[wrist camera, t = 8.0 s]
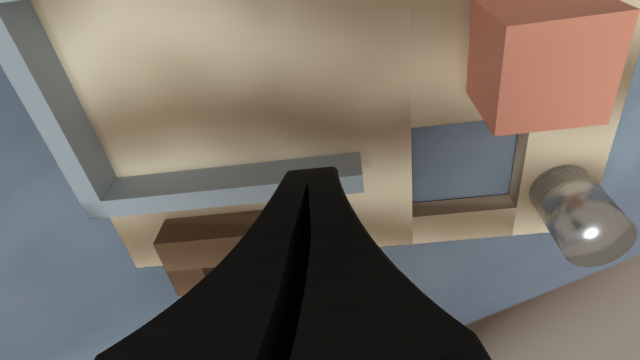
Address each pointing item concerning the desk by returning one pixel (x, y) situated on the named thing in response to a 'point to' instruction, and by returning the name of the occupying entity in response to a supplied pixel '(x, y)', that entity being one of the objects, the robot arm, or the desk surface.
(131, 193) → the grey rectangular frame
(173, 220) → the walnut bar
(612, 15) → the coral cube
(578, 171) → the grey metal peg
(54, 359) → the desk surface
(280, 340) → the robot arm
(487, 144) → the desk surface
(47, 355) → the desk surface
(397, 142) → the birch board
